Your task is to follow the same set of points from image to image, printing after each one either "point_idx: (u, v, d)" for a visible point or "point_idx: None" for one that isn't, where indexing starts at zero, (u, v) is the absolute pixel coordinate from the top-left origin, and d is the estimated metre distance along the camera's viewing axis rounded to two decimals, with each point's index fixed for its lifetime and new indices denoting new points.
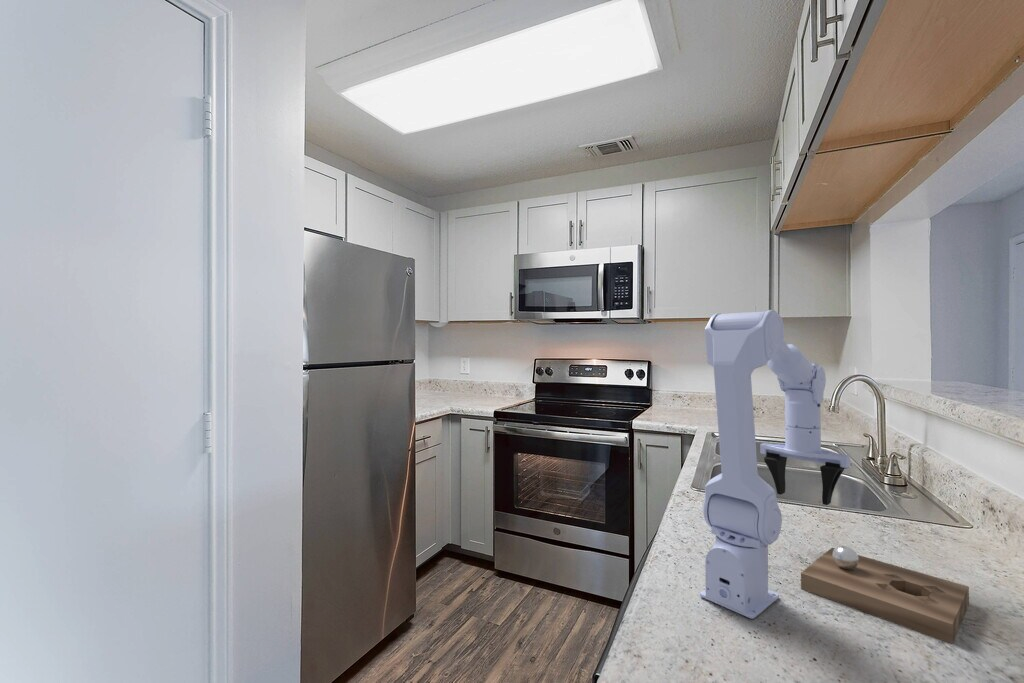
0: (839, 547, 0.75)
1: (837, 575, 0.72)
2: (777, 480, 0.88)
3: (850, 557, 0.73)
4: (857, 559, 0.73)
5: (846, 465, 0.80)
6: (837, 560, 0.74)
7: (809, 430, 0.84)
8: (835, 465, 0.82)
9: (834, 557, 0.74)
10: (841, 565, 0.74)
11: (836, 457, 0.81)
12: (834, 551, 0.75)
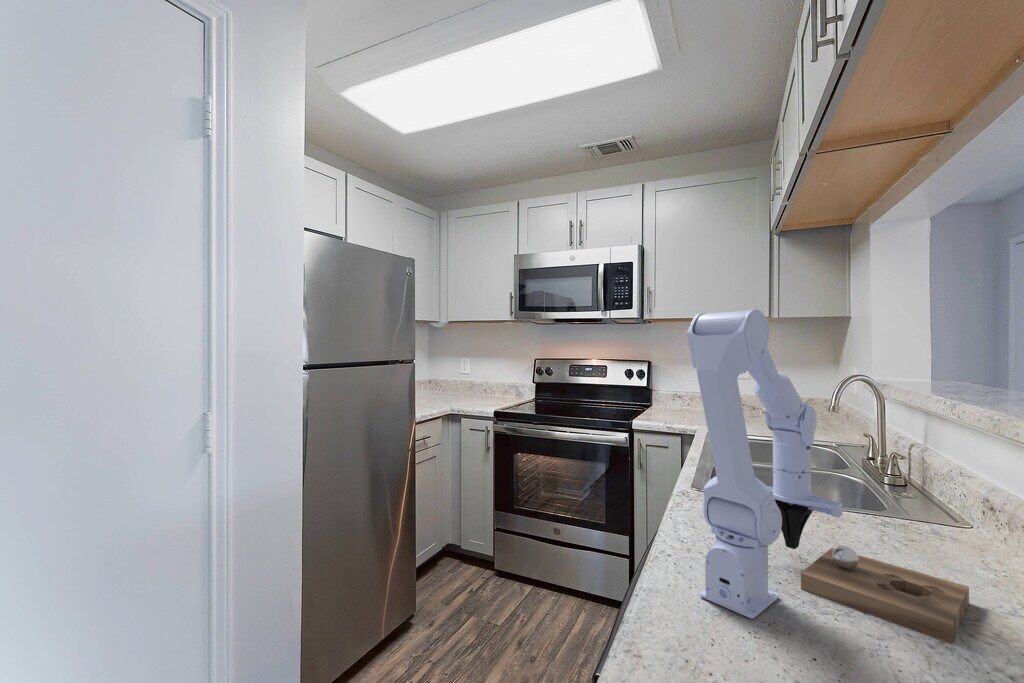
0: (839, 547, 0.75)
1: (837, 575, 0.72)
2: (786, 532, 0.80)
3: (850, 557, 0.73)
4: (857, 559, 0.73)
5: (838, 515, 0.74)
6: (837, 560, 0.74)
7: (798, 475, 0.78)
8: (802, 508, 0.78)
9: (834, 557, 0.74)
10: (841, 565, 0.74)
11: (827, 505, 0.75)
12: (834, 551, 0.75)
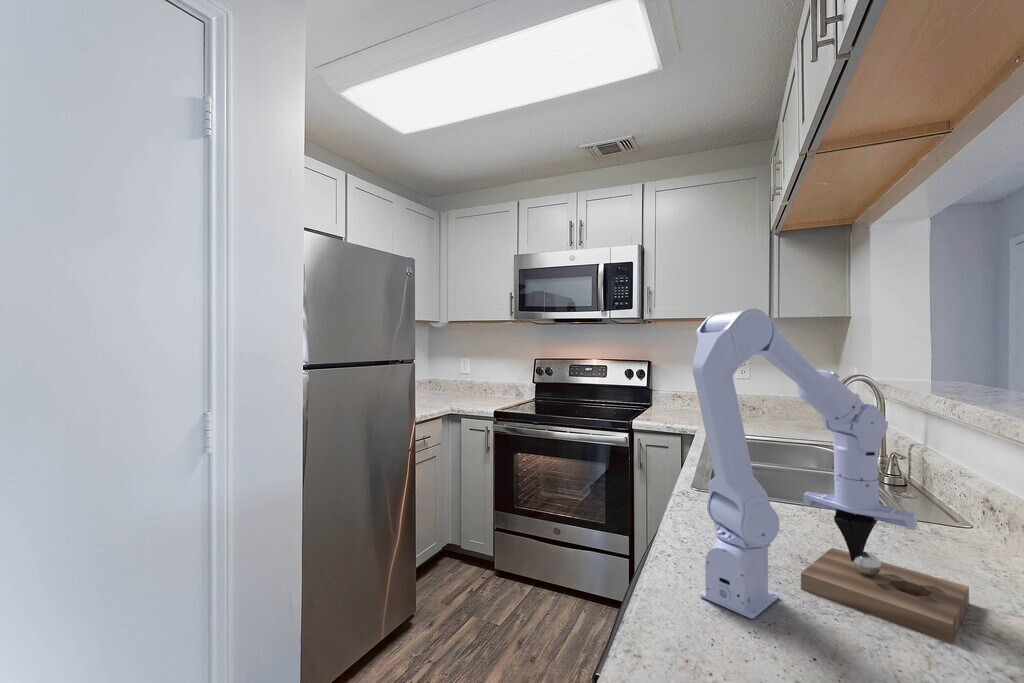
0: (878, 563, 0.71)
1: (837, 575, 0.72)
2: (851, 545, 0.73)
3: (870, 573, 0.71)
4: (868, 575, 0.72)
5: (913, 527, 0.67)
6: (863, 561, 0.71)
7: (866, 483, 0.71)
8: (868, 518, 0.72)
9: (865, 558, 0.72)
10: (858, 562, 0.72)
11: (900, 517, 0.68)
12: (872, 558, 0.71)
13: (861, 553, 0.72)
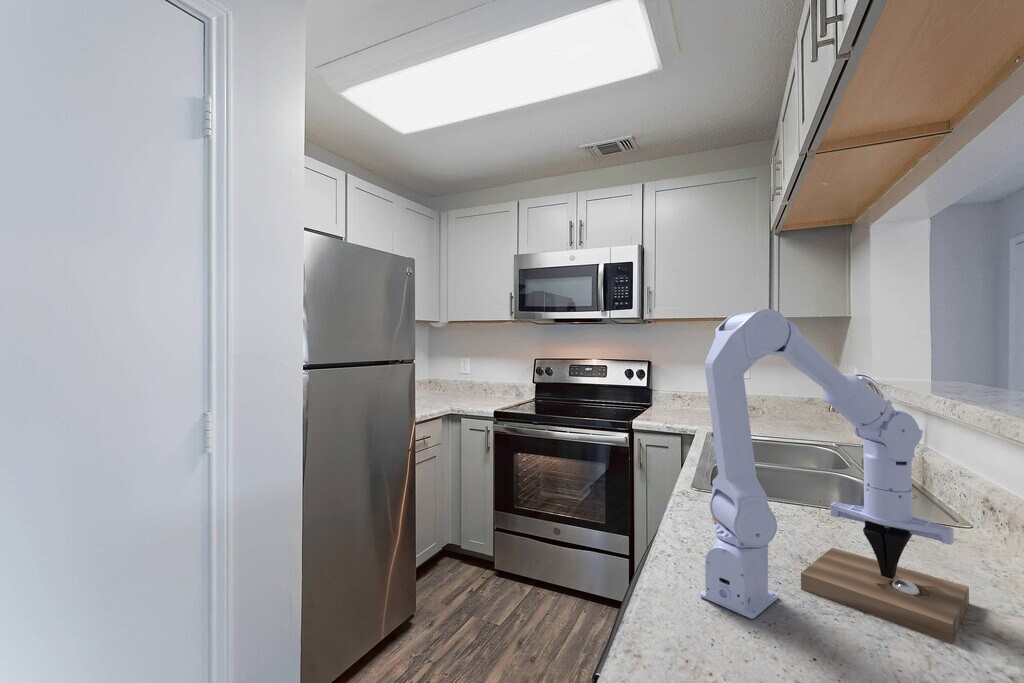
0: None
1: (837, 575, 0.72)
2: (882, 559, 0.69)
3: (898, 585, 0.68)
4: (897, 580, 0.69)
5: (950, 541, 0.64)
6: None
7: (899, 494, 0.68)
8: (903, 532, 0.68)
9: None
10: (915, 593, 0.67)
11: (936, 530, 0.65)
12: None
13: None
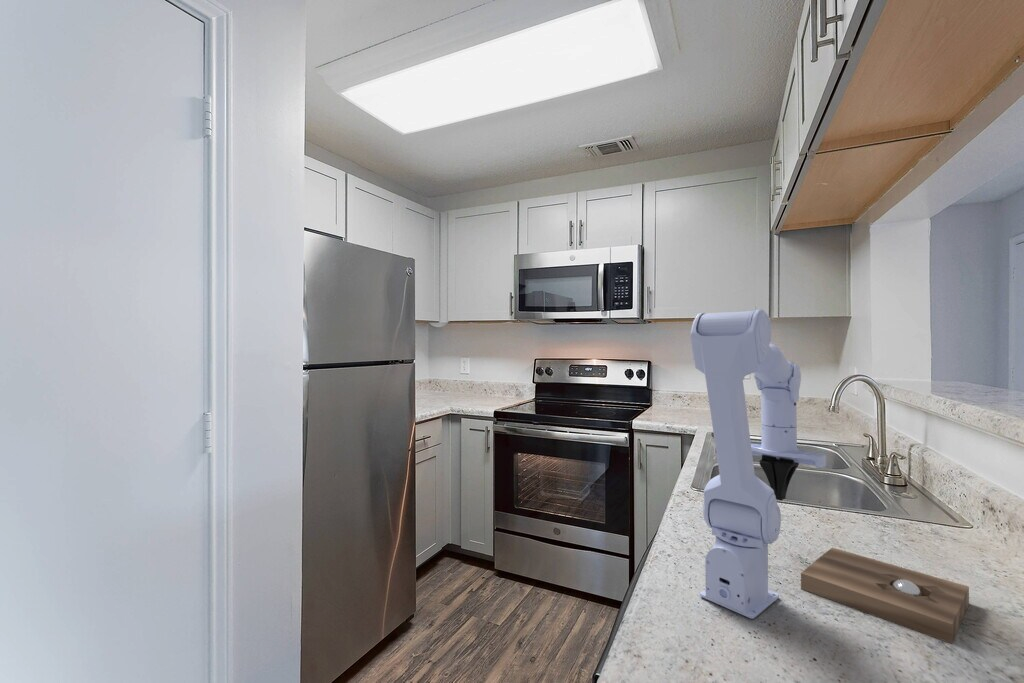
0: None
1: (837, 575, 0.72)
2: (773, 484, 0.84)
3: (900, 584, 0.68)
4: (900, 579, 0.69)
5: (821, 465, 0.79)
6: None
7: (784, 429, 0.82)
8: (788, 461, 0.83)
9: None
10: (917, 594, 0.67)
11: (811, 457, 0.80)
12: None
13: None
